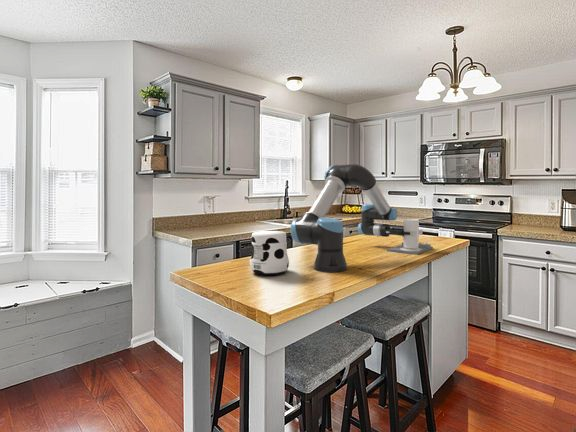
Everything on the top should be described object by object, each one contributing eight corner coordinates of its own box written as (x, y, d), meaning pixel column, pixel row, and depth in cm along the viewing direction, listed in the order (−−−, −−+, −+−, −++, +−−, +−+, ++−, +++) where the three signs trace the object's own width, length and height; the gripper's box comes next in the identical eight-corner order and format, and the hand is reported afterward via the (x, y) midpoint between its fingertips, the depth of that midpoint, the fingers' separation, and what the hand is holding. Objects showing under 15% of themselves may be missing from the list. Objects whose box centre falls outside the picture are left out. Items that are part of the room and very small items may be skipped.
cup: (403, 247, 200) (403, 220, 199) (403, 245, 208) (403, 218, 207) (418, 248, 198) (419, 220, 196) (417, 246, 206) (418, 218, 204)
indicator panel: (417, 254, 192) (417, 247, 192) (386, 251, 204) (386, 244, 204) (432, 248, 210) (433, 242, 210) (403, 245, 222) (404, 239, 222)
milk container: (288, 267, 166) (287, 230, 165) (289, 277, 149) (289, 235, 148) (251, 268, 166) (250, 230, 164) (249, 278, 148) (247, 236, 147)
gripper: (389, 234, 222) (425, 237, 207) (373, 238, 207) (411, 241, 192) (389, 222, 222) (426, 224, 207) (374, 225, 206) (412, 228, 191)
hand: (419, 233), depth 199 cm, fingers closed on cup, 8 cm apart
